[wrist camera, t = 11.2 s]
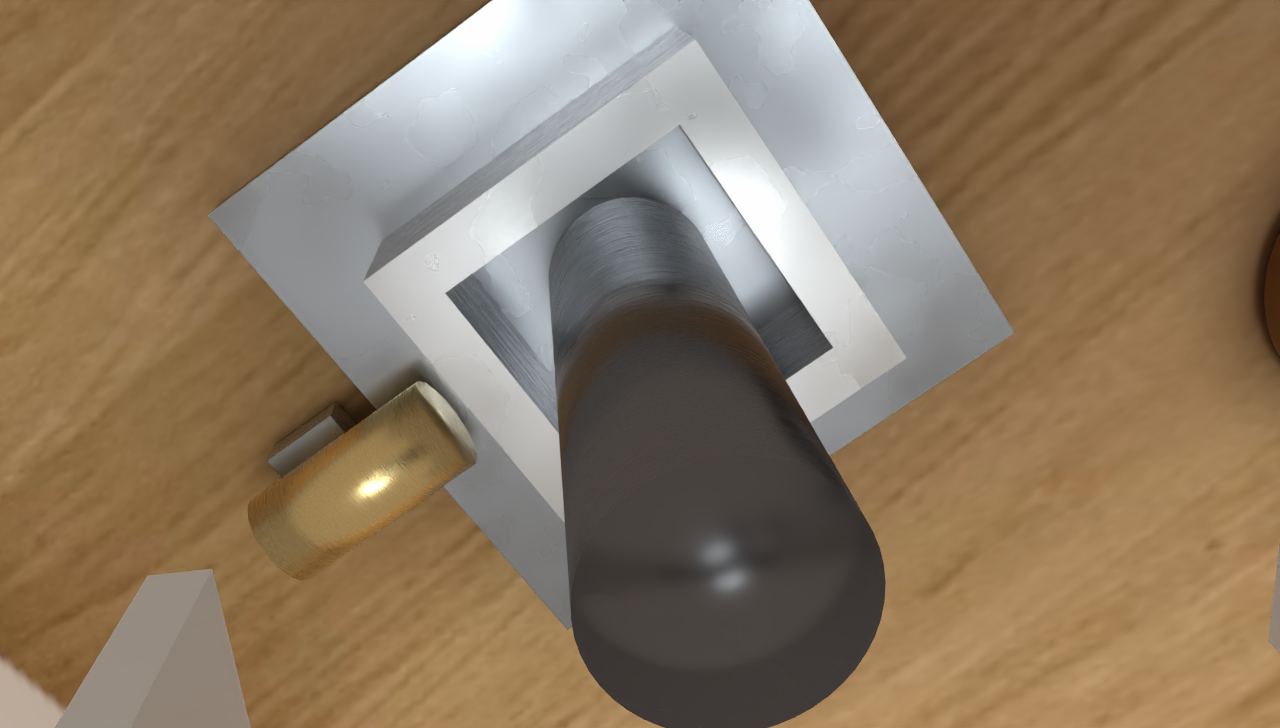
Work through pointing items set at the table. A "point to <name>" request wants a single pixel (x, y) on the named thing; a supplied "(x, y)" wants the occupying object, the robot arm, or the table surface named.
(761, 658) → the dark cylinder
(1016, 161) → the table surface
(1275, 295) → the mug
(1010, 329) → the open box on baseplate
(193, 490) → the table surface
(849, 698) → the table surface
